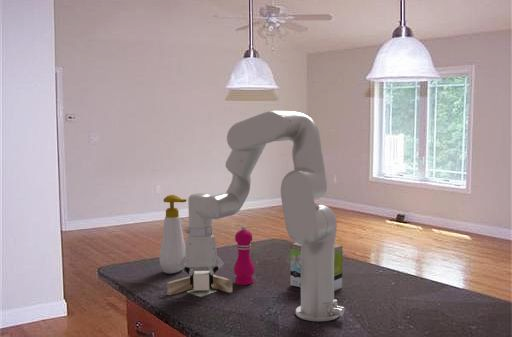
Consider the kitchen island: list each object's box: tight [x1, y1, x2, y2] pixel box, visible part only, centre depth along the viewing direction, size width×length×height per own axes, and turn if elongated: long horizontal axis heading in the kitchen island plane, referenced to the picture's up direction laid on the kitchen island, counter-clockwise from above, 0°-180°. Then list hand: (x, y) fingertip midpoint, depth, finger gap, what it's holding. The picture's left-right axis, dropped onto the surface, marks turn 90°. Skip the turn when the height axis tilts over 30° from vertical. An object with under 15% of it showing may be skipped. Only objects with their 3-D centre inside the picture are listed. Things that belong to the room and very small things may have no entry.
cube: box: [193, 270, 211, 290], centre depth 177 cm, size 5×5×5 cm
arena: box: [166, 274, 233, 298], centre depth 176 cm, size 14×16×4 cm
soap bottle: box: [159, 194, 188, 275], centre depth 201 cm, size 13×10×29 cm
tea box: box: [289, 242, 343, 292], centre depth 181 cm, size 15×10×15 cm, turn 47°
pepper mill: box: [233, 225, 255, 286], centre depth 187 cm, size 7×7×20 cm
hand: (201, 285), depth 177 cm, fingers closed on cube, 4 cm apart
